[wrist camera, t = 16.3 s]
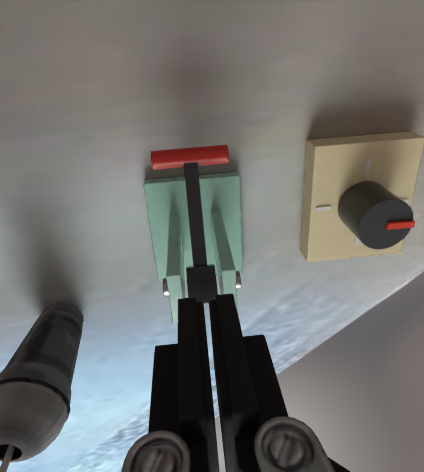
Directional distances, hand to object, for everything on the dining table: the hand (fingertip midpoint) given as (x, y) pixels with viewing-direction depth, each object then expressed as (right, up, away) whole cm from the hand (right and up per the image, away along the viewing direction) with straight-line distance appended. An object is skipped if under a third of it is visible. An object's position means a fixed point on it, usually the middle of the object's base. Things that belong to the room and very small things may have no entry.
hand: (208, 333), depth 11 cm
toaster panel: (+14, +7, +26) cm, 31 cm away
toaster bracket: (-1, +4, +26) cm, 27 cm away
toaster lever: (-1, +4, +19) cm, 19 cm away
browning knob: (+14, +6, +24) cm, 28 cm away
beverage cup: (-17, -6, +30) cm, 35 cm away
